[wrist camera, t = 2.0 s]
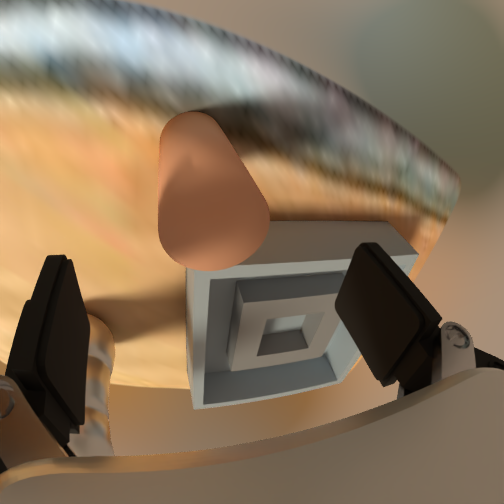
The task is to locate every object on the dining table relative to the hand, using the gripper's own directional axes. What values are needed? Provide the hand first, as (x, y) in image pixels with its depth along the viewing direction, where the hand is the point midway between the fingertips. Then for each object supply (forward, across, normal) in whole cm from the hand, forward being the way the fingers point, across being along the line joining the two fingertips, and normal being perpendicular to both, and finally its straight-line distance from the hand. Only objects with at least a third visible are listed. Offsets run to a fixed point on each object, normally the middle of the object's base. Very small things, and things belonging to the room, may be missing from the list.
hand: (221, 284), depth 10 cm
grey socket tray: (+12, -9, +15) cm, 21 cm away
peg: (+12, 0, -1) cm, 12 cm away
